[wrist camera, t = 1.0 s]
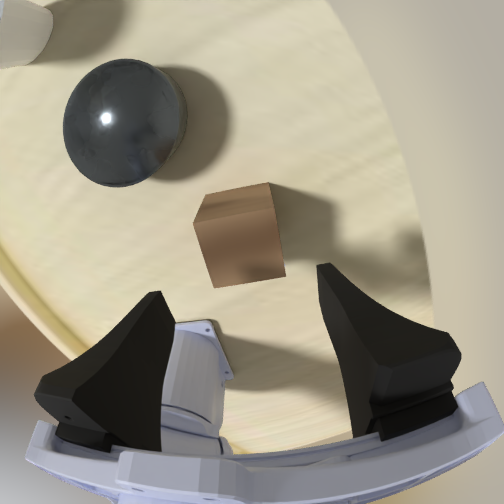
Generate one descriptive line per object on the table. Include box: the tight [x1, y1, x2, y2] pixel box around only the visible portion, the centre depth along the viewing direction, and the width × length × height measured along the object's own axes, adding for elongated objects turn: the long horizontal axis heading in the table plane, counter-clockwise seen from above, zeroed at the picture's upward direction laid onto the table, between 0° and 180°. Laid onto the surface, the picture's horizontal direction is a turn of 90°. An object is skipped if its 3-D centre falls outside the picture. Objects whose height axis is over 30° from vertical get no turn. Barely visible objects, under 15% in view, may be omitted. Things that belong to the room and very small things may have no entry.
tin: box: [63, 59, 187, 187], centre depth 15 cm, size 8×8×3 cm
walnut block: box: [193, 182, 286, 288], centre depth 18 cm, size 4×4×5 cm
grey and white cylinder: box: [0, 0, 53, 69], centre depth 8 cm, size 7×7×7 cm
